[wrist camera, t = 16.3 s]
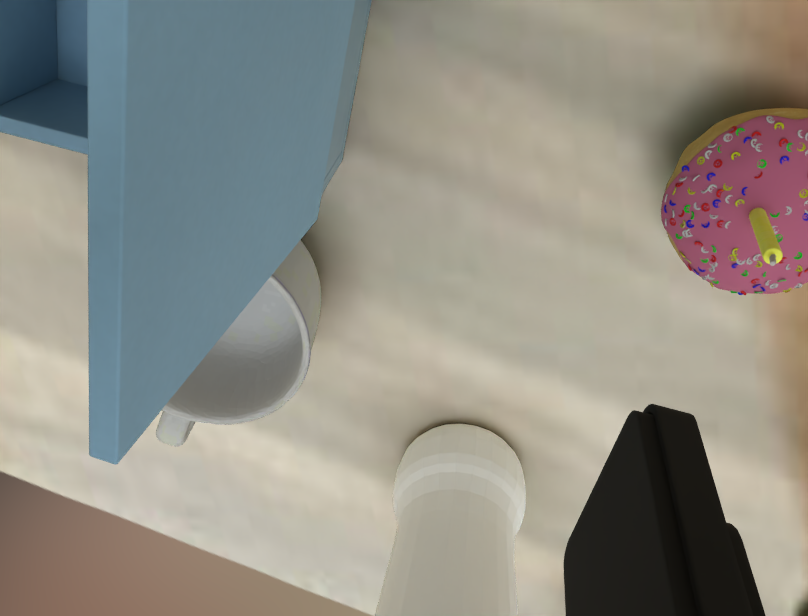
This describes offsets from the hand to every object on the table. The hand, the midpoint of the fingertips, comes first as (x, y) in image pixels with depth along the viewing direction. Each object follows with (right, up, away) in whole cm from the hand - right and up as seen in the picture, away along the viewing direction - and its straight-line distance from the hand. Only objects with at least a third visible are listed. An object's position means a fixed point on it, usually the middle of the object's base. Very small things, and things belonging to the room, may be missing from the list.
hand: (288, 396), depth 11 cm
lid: (-3, +8, +11) cm, 14 cm away
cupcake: (+18, +8, +26) cm, 33 cm away
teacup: (-8, +3, +34) cm, 35 cm away
